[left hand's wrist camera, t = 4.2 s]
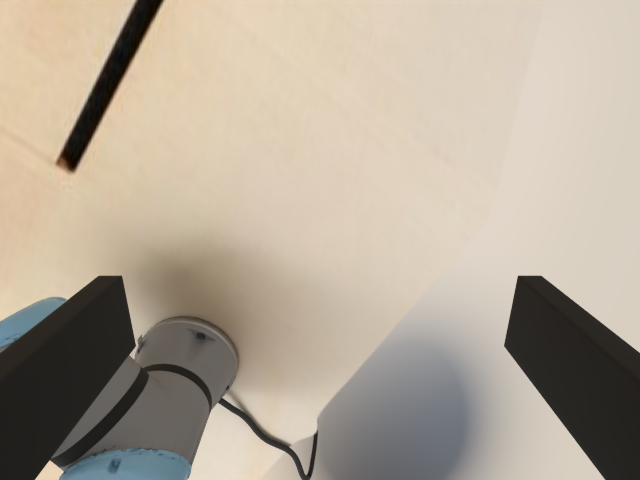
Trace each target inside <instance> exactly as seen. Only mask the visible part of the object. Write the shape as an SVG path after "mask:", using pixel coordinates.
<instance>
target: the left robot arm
mask: <svg viewBox="0 0 640 480" xmlns="http://www.w3.org/2000/svg"><path fill="white" fill-rule="evenodd" d="M135 346H136V344H135V339H134V334H133V329H132V324H131V319H130V314H129V309H128V304H127V299H126V294H125V289H124V284H123V279H122V276H98V277H97V278H95V279H94V280H93V281H92V282H90V283H89V284H88V285H86V286H85V287H84V288H83V289H81V290H80V291H79V292H78V293H76V294H75V295H74V296H72V297H71V298H70V299H69V300H67V299H65V298H61V297H50V298H46V299H43V300H41V301H38V302H36V303H34V304H32V305H30V306H28V307H26V308H24V309H22V310H20V311H18V312H16V313H15V314H13V315H11V316H9V317H7V318H5V319H4V320H2V321H0V480H35V479H36V477H37V476H38V475H39V473H40V472H41V471H42V469H43V468H44V467H45V465H46V464H47V463H48V461H49V460H50V461H52V462H53V463H54V464H56V465H57V466H58V467H59V468H61V469H62V470H63V471H64V472H63V474H62V475H61V476H60V478H59V480H187V479H188V478H189V476H190V473H191V466H192V463H193V461H194V458H195V455H196V452H197V449H198V446H199V443H200V440H201V437H202V435H203V432H204V429H205V426H206V423H207V420H208V417H209V414H210V412H211V410H212V409H213V407H214V406H215V405H216V404H217V403H219V404H221V405H222V406H224V407H225V408H227V409H228V410H230V411H231V412H233V413H235V414H236V415H238V416H239V417H241V418H242V419H243V420H244V421H245V422H246V423H247V424H248V425H249V426H250V427H251V429H252V430H253V431H254V432H255V434H256V435H257V436H258V437H259V438H260V439H262V440H263V441H264V442H266V443H268V444H269V445H272V446H274V447H276V448H279V449H281V450H283V451H285V452H287V453H288V454H289V455H290V456H291V457H292V458H293V460H294V462H295V464H296V466H297V469H298V472H299V475H300V477H301V479H302V480H310V478H311V476H312V473H313V469H314V463H315V456H316V449H317V440H318V429H317V431H316V433H315V434H314V437H313V447H312V453H311V459H310V465H309V470H308V474H307V475H305V474H304V471H303V468H302V465H301V462H300V460H299V458H298V456H297V455H296V453H295V452H294V451H293V450H292V449H291V448H289V447H288V446H286V445H284V444H282V443H279V442H277V441H275V440H272V439H270V438H269V437H267V436H266V435H264V434H263V433H262V432H261V431H260V430H259V429H258V428H257V426H256V425H255V424H254V422H253V421H252V420H251V419H250V418H249V417H248V416H247V415H246V414H245V413H244V412H243V411H241V410H240V409H238V408H236V407H235V406H233V405H231V404H230V403H229V402H227V401H226V400H224V399H223V398H222V397H223V396H224V395H225V394H226V393H227V391H228V390H229V389H230V387H231V385H232V384H233V382H234V379H235V376H236V373H237V369H238V355H237V351H236V349H235V346H234V344H233V343H232V341H231V340H230V338H229V337H228V336H227V335H226V334H225V333H224V332H223V331H222V330H221V329H219V328H218V327H216V326H215V325H213V324H211V323H209V322H207V321H204V320H201V319H197V318H192V317H175V318H170V319H167V320H164V321H161V322H159V323H158V324H156V325H155V326H153V327H152V328H151V329H150V330H149V331H148V332H147V333H146V335H145V336H144V337H143V339H142V335H141V336H140V337H139V339H138V348H137V351H136V354H135V360H134V359H133V358H132V357H131V356H130V355H129V354H130V353H131V352H132V350H133V349H134V348H135ZM504 346H505V348H506V349H507V350H508V352H509V353H510V354H511V356H512V357H513V358H514V360H515V361H516V362H517V364H518V365H519V366H520V368H521V369H522V370H523V372H524V373H525V374H526V376H527V377H528V378H529V380H530V381H531V382H532V383H533V385H534V386H535V387H536V389H537V390H538V391H539V393H540V394H541V395H542V397H543V398H544V399H545V401H546V402H547V403H548V405H549V406H550V407H551V408H552V410H553V411H554V413H555V414H556V415H557V416H558V418H559V419H560V420H561V422H562V423H563V424H564V426H565V427H566V428H567V430H568V431H569V432H570V434H571V435H572V436H573V438H574V439H575V440H576V442H577V443H578V444H579V446H580V447H581V448H582V450H583V451H584V452H585V453H586V455H587V456H588V457H589V459H590V460H591V461H592V463H593V464H594V465H595V467H596V468H597V469H598V471H599V472H600V473H601V475H602V476H603V477H604V479H605V480H640V353H639V352H638V351H636V350H635V349H634V348H633V347H631V346H630V345H629V344H628V343H626V342H625V341H624V340H622V339H621V338H620V337H619V336H617V335H616V334H615V333H614V332H612V331H611V330H610V329H608V328H607V327H606V326H605V325H603V324H602V323H601V322H600V321H598V320H597V319H596V318H594V317H593V316H592V315H590V314H589V313H588V312H587V311H585V310H584V309H583V308H582V307H580V306H579V305H578V304H577V303H575V302H574V301H573V300H571V299H570V298H569V297H568V296H566V295H565V294H564V293H562V292H561V291H560V290H559V289H557V288H556V287H555V286H554V285H552V284H551V283H550V282H548V281H547V280H546V279H544V278H543V277H542V276H518V279H517V284H516V289H515V294H514V299H513V304H512V309H511V314H510V319H509V324H508V329H507V334H506V339H505V344H504ZM317 423H318V422H317Z"/></svg>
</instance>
